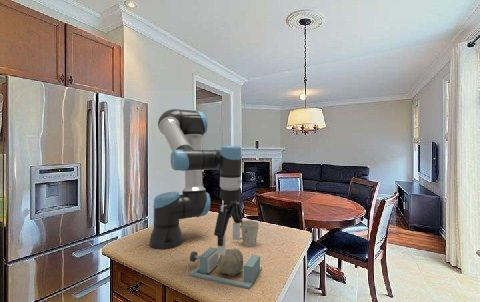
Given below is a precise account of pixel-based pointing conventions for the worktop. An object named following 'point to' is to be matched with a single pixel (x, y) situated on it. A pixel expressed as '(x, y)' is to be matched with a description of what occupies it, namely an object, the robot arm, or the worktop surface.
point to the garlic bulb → (231, 262)
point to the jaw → (206, 260)
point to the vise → (249, 274)
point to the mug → (249, 232)
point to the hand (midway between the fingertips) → (229, 246)
